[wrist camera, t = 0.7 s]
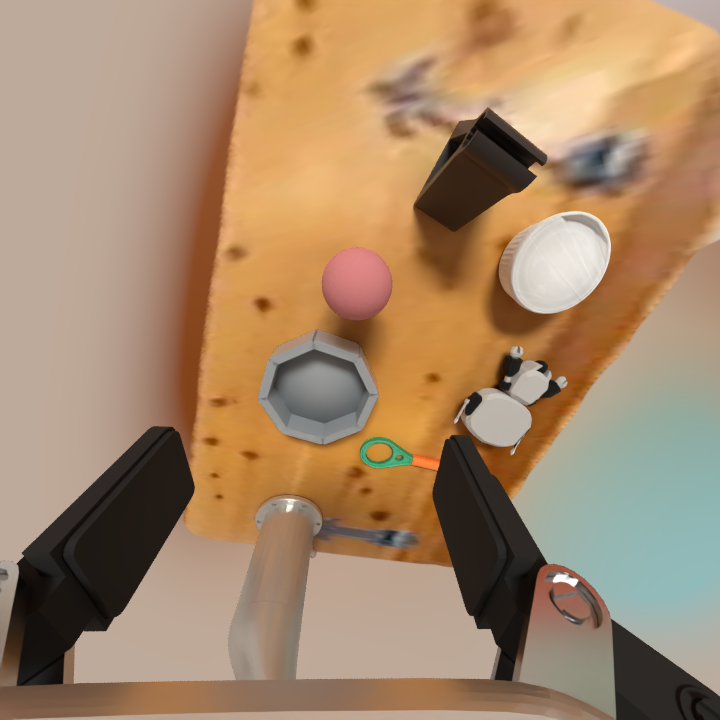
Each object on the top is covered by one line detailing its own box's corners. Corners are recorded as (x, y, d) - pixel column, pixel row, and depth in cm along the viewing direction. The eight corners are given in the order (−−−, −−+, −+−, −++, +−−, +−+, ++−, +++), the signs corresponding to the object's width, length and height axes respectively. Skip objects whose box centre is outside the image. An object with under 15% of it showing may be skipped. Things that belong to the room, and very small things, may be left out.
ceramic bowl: (386, 402, 43) (390, 419, 39) (301, 435, 45) (296, 455, 41) (346, 315, 37) (345, 324, 33) (250, 358, 39) (238, 371, 35)
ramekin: (594, 232, 34) (634, 230, 30) (546, 315, 38) (574, 325, 34) (517, 202, 33) (546, 194, 28) (475, 292, 37) (494, 299, 32)
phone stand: (458, 122, 29) (523, 49, 18) (500, 155, 31) (584, 106, 20) (413, 205, 32) (445, 185, 21) (452, 232, 34) (503, 226, 23)
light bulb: (321, 293, 36) (309, 315, 25) (337, 238, 33) (330, 235, 22) (372, 310, 37) (381, 338, 26) (390, 257, 35) (409, 264, 24)
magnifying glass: (355, 459, 48) (356, 466, 47) (365, 432, 46) (366, 438, 44) (434, 474, 50) (437, 481, 49) (447, 449, 48) (450, 456, 46)
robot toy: (503, 335, 40) (442, 412, 44) (522, 344, 36) (453, 428, 40) (557, 373, 43) (496, 442, 47) (581, 386, 39) (512, 460, 43)
